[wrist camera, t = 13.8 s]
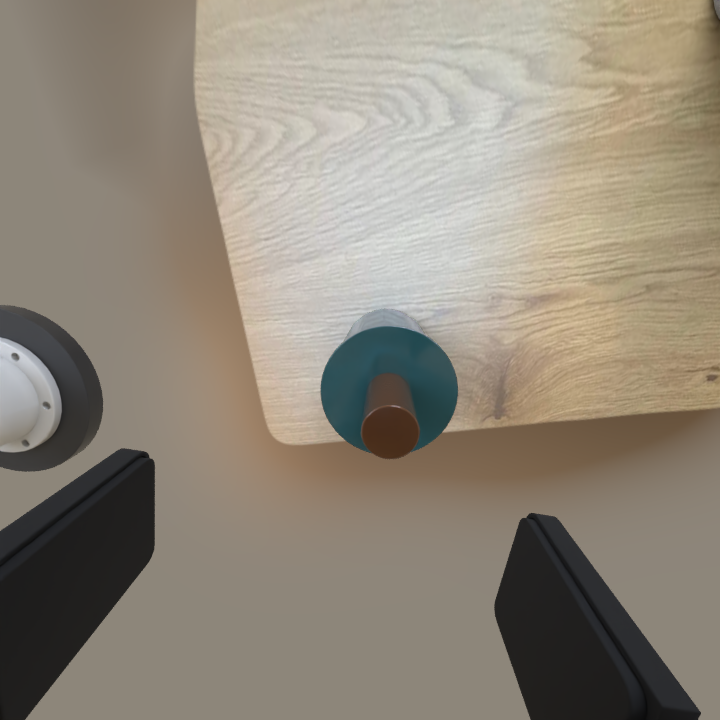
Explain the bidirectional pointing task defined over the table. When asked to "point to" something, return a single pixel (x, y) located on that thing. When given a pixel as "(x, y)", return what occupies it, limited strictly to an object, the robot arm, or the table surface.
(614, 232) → the table surface
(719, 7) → the travel mug
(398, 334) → the lid
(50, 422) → the robot arm
